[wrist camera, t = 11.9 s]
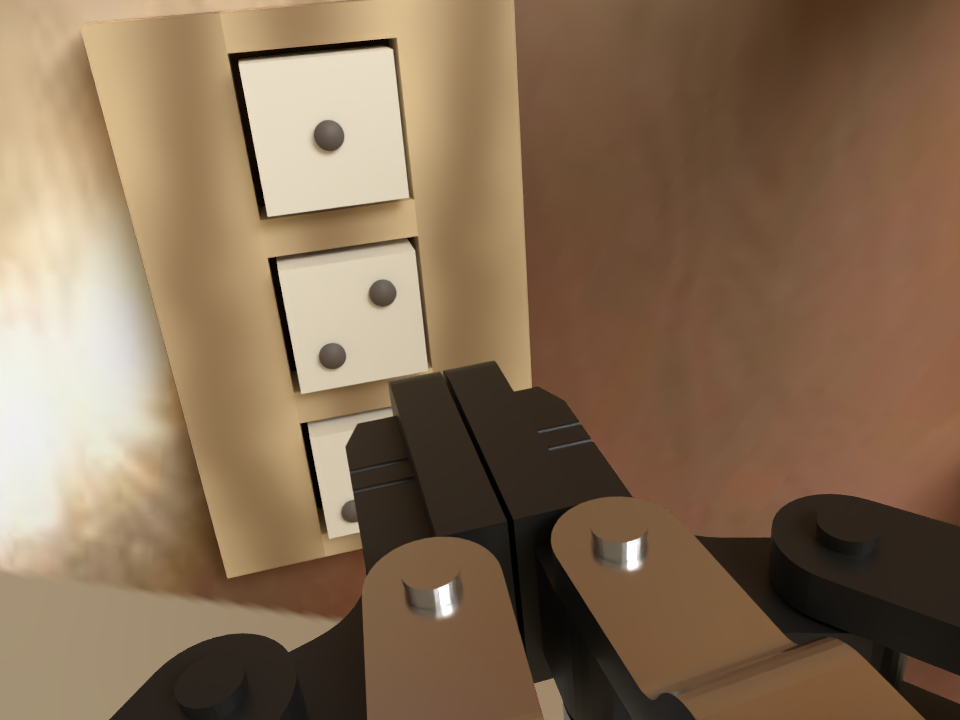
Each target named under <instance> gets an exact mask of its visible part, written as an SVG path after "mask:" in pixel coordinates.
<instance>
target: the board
mask: <svg viewBox="0 0 960 720" xmlns="http://www.w3.org/2000/svg"><path fill="white" fill-rule="evenodd" d="M79 26H80V29H81V33H82V37H83V41H84V44H85V48H86V52H87V56H88V59H89V63H90V67H91V71H92V74H93V78H94V82H95V85H96V89H97V93H98V97H99V100H100V104H101V108H102V112H103V115H104V119H105V123H106V127H107V130H108V134H109V138H110V142H111V145H112V149H113V153H114V156H115V160H116V164H117V168H118V171H119V175H120V179H121V183H122V186H123V190H124V194H125V198H126V201H127V205H128V209H129V213H130V216H131V220H132V224H133V227H134V231H135V235H136V239H137V242H138V246H139V250H140V254H141V257H142V261H143V265H144V269H145V272H146V276H147V280H148V283H149V287H150V291H151V295H152V298H153V302H154V306H155V310H156V313H157V317H158V321H159V325H160V328H161V332H162V336H163V340H164V343H165V347H166V351H167V354H168V358H169V362H170V366H171V369H172V373H173V377H174V381H175V384H176V388H177V392H178V396H179V399H180V403H181V407H182V411H183V414H184V418H185V422H186V425H187V429H188V433H189V437H190V440H191V444H192V448H193V452H194V455H195V459H196V463H197V467H198V470H199V474H200V478H201V482H202V485H203V489H204V493H205V496H206V500H207V504H208V508H209V511H210V515H211V519H212V523H213V526H214V530H215V534H216V538H217V541H218V545H219V549H220V553H221V556H222V560H223V564H224V567H225V571H226V575H227V579H228V578H232V577H237V576H241V575H246V574H250V573H254V572H259V571H263V570H268V569H272V568H277V567H281V566H286V565H290V564H295V563H299V562H304V561H308V560H313V559H317V558H322V557H326V556H331V555H335V554H340V553H344V552H349V551H353V550H358V549H362V542H361V537H360V532H359V533H354V534H350V535H345V536H340V537H336V538H331V539H329V536H328V531H327V526H326V521H325V515H324V510H323V507H322V508H317V502H316V497H315V492H314V487H313V482H312V477H311V472H310V466H309V461H308V456H307V451H306V446H305V441H304V436H303V430H302V425H301V423H305V422H310V421H316V420H321V419H326V418H332V417H337V416H342V415H348V414H353V413H358V412H364V411H369V410H374V409H379V408H385V407H390V406H391V400H390V394H389V386H388V381H392V380H397V379H402V378H408V377H413V376H418V375H423V374H428V373H433V372H438V371H440V372H441V374H442V376H443V370H447V369H452V368H458V367H463V366H468V365H473V364H478V363H483V362H488V361H495V362H496V363H497V364H498V366H499V368H500V369H501V371H502V373H503V374H504V376H505V378H506V379H507V381H508V383H509V384H510V386H511V388H512V389H513V391H519V390H524V389H529V388H532V380H531V358H530V337H529V315H528V294H527V272H526V251H525V229H524V208H523V186H522V165H521V143H520V121H519V100H518V78H517V57H516V35H515V14H514V0H351V1H339V2H327V3H315V4H303V5H292V6H280V7H268V8H256V9H244V10H232V11H221V12H209V13H197V14H185V15H173V16H161V17H150V18H138V19H126V20H114V21H102V22H90V23H87V24H83V25H79ZM386 38H388V42H389V48H391V49H393V54H394V63H395V73H396V82H397V91H398V100H399V109H400V118H401V127H402V136H403V145H404V155H405V164H406V173H407V182H408V191H409V198H403V199H396V200H389V201H381V202H374V203H366V204H359V205H352V206H344V207H337V208H330V209H322V210H315V211H308V212H300V213H293V214H286V215H278V216H271V217H268V216H267V211H266V206H262V207H259V204H258V199H257V194H256V189H255V183H254V178H253V173H252V168H251V163H250V158H249V153H248V147H247V142H246V137H245V132H244V127H243V122H242V116H241V111H240V106H239V101H238V96H237V91H236V86H235V80H234V75H233V70H232V65H231V60H230V55H229V53H239V52H249V51H260V50H270V49H281V48H291V47H302V46H312V45H323V44H333V43H344V42H354V41H365V40H376V39H386ZM408 237H410V239H411V245H412V247H413V248H414V250H415V254H416V263H417V272H418V281H419V291H420V300H421V309H422V318H423V327H424V336H425V345H426V354H427V364H428V371H426V372H420V373H415V374H409V375H404V376H398V377H393V378H387V379H382V380H376V381H371V382H365V383H360V384H354V385H349V386H343V387H338V388H332V389H327V390H321V391H315V392H310V393H304V394H301V389H300V384H299V379H298V374H297V371H291V369H290V364H289V358H288V353H287V348H286V343H285V338H284V333H283V327H282V322H281V317H280V312H279V307H278V302H277V297H276V291H275V286H274V281H273V276H272V271H271V266H270V261H269V258H271V257H278V256H285V255H291V254H298V253H305V252H312V251H319V250H326V249H333V248H339V247H346V246H353V245H360V244H367V243H374V242H380V241H387V240H394V239H401V238H408Z"/></svg>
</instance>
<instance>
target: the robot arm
mask: <svg viewBox="0 0 960 720" xmlns="http://www.w3.org/2000/svg"><path fill="white" fill-rule="evenodd" d="M388 386H389V394H390V400H391V406H392V412H393V416H392V417H388V418H383V419H378V420H373V421H368V422H363V423H358V424H357V425H356V427H355V429H354V431H353V433H352V435H351V437H350V439H349V441H348V443H347V444H346V446H345V448H346V454H347V460H348V466H349V472H350V478H351V484H352V490H353V495H354V501H355V507H356V513H357V519H358V525H359V531H360V537H361V542H362V548H363V554H364V560H365V566H366V578H365V581H364V584H363V587H362V595H361V597H360V599H359V601H358V602H357V604H356V605H355V607H354V608H353V609H352V610H351V612H350V613H349V614H348V615H347V616H346V617H345V618H344V619H343V620H342V621H341V622H340V623H338V624H337V625H336V626H334V627H333V628H332V629H330V630H329V631H327V632H326V633H324V634H322V635H321V636H319V637H317V638H315V639H314V640H312V641H310V642H308V643H306V644H304V645H302V646H300V647H298V648H296V649H294V650H292V651H290V652H288V651H287V650H286V649H285V648H284V647H283V646H282V645H280V644H279V643H278V642H276V641H275V640H272V639H270V638H268V637H265V636H261V635H255V634H244V633H242V634H229V635H225V636H220V637H215V638H212V639H209V640H206V641H203V642H201V643H198V644H196V645H194V646H192V647H190V648H188V649H186V650H185V651H183V652H181V653H179V654H177V655H176V656H175V657H173V658H172V659H171V660H169V661H168V662H167V663H165V664H164V665H163V666H162V667H161V668H160V669H159V670H157V672H155V673H154V674H153V675H152V677H150V679H148V681H147V682H146V683H145V684H144V685H143V686H142V687H141V688H140V689H139V690H138V691H137V692H136V693H135V694H134V695H133V696H132V697H131V698H130V699H129V700H128V701H127V702H126V703H125V704H124V705H123V706H122V707H121V708H120V709H119V710H118V711H117V712H116V713H115V714H114V715H113V716H112V718H111V719H110V720H544V718H543V715H542V711H541V708H540V704H539V701H538V697H537V693H536V690H535V687H534V683H537V682H540V681H544V680H548V679H551V678H554V680H555V682H556V685H557V687H558V690H559V692H560V695H561V697H562V700H563V714H564V720H960V704H958V703H956V702H953V701H951V700H948V699H946V698H944V697H941V696H939V695H936V694H934V693H931V692H929V691H926V690H924V689H922V688H919V687H917V686H914V685H912V684H909V683H907V682H904V681H902V680H903V675H904V670H905V665H906V659H907V655H908V656H911V657H913V658H916V659H919V660H921V661H924V662H926V663H929V664H931V665H934V666H937V667H939V668H942V669H944V670H947V671H949V672H952V673H954V674H957V675H960V527H959V526H955V525H952V524H948V523H945V522H942V521H938V520H935V519H931V518H928V517H925V516H921V515H918V514H914V513H911V512H908V511H904V510H901V509H897V508H894V507H891V506H887V505H884V504H880V503H877V502H874V501H870V500H867V499H863V498H858V497H854V496H847V495H838V494H820V495H812V496H806V497H803V498H799V499H796V500H794V501H792V502H790V503H788V504H787V505H785V506H784V507H782V508H781V509H780V510H779V511H778V512H777V514H776V515H775V517H774V519H773V523H772V530H771V538H715V537H703V536H696V535H693V534H692V533H691V532H690V530H689V529H688V528H687V527H686V526H685V525H684V524H683V523H682V522H681V521H680V519H678V518H677V517H676V516H675V515H674V514H673V513H672V512H670V511H669V510H667V509H665V508H664V507H662V506H660V505H657V504H655V503H652V502H649V501H646V500H642V499H638V498H633V497H632V496H631V494H630V493H629V491H628V490H627V489H626V487H625V486H624V484H623V483H622V481H621V480H620V479H619V477H618V476H617V474H616V473H615V472H614V470H613V469H612V467H611V466H610V464H609V463H608V462H607V460H606V459H605V457H604V456H603V455H602V453H601V452H600V450H599V449H598V448H597V446H596V445H595V443H594V442H591V438H590V436H589V435H588V433H587V432H586V431H585V429H584V428H583V426H582V425H579V421H578V419H577V418H576V416H575V415H574V414H573V412H572V411H571V409H570V408H569V407H568V405H567V404H566V402H565V401H564V400H562V399H560V398H558V397H556V396H555V395H553V394H551V393H549V392H547V391H545V390H543V389H542V388H540V387H534V388H529V389H524V390H519V391H513V389H512V388H511V386H510V384H509V383H508V381H507V379H506V378H505V376H504V374H503V373H502V371H501V369H500V368H499V366H498V364H497V363H496V362H495V361H488V362H483V363H478V364H473V365H468V366H463V367H458V368H452V369H447V370H443V376H442V374H441V372H440V371H438V372H433V373H428V374H423V375H418V376H413V377H408V378H402V379H397V380H392V381H388Z"/></svg>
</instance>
